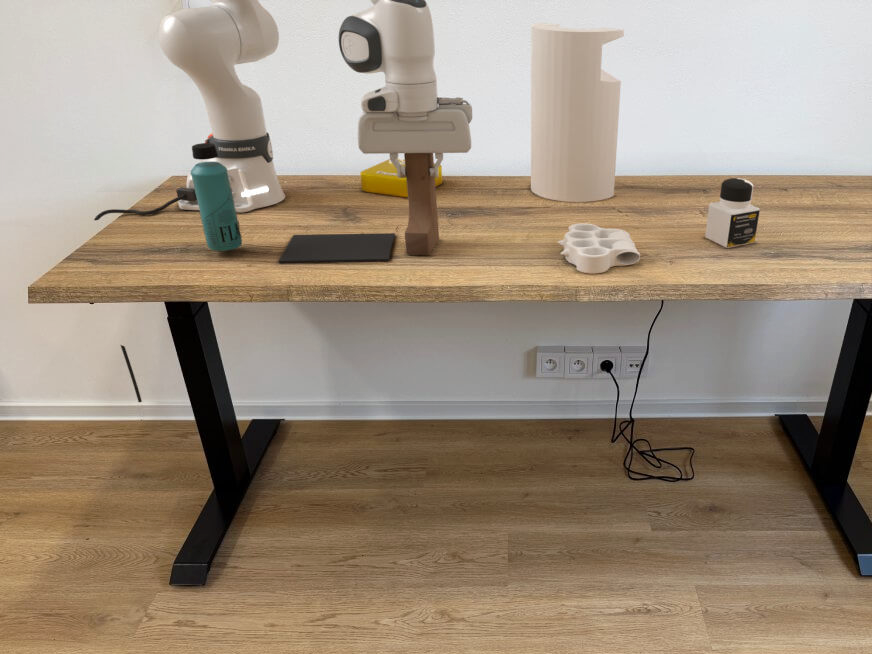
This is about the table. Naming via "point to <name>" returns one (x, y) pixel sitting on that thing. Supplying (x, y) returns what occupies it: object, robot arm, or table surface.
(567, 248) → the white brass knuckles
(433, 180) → the wooden block
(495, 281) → the table surface
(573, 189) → the beige notched cylinder
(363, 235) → the desk mat
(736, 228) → the medicine bottle
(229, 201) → the beverage bottle
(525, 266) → the table surface
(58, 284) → the table surface
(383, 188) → the element tile
